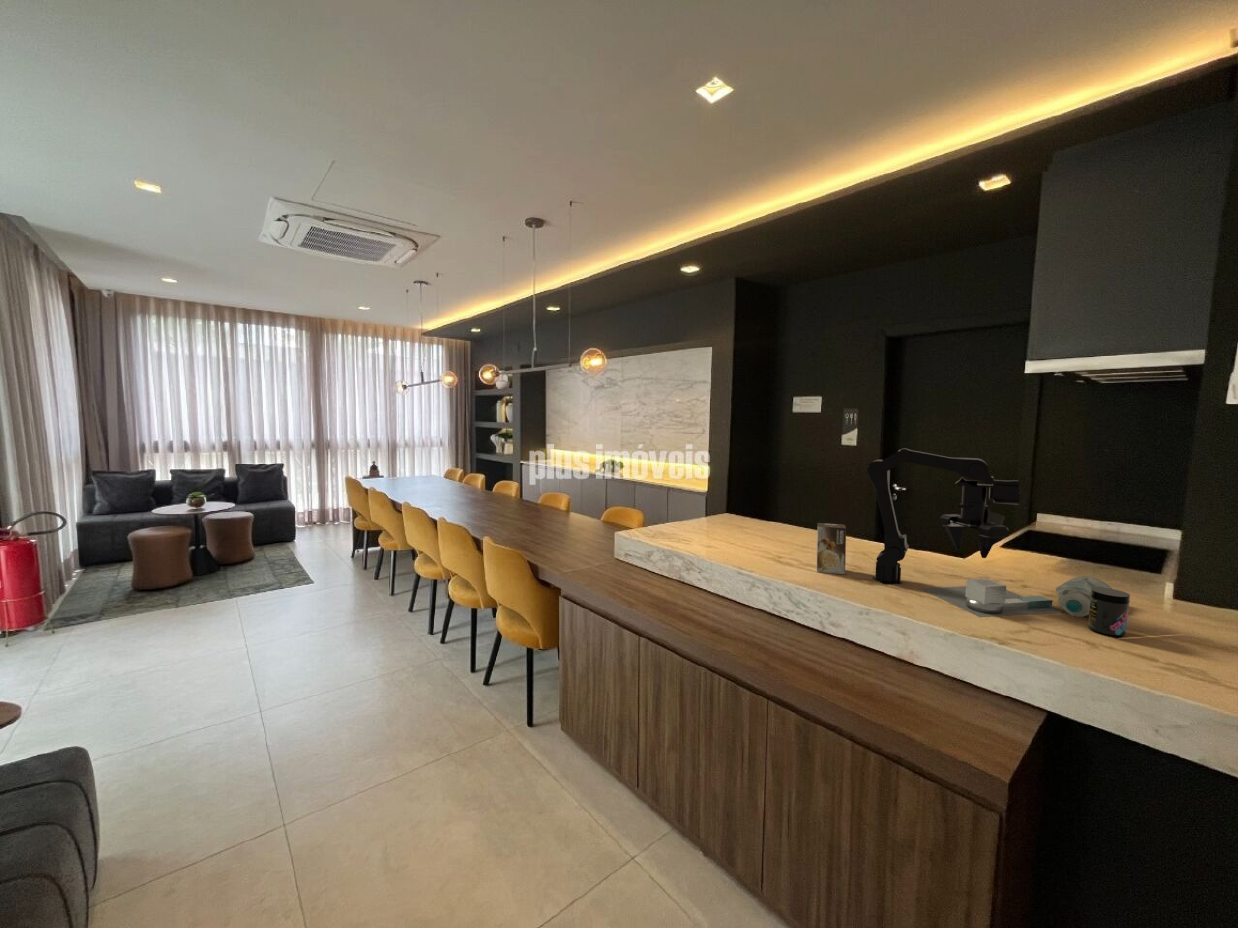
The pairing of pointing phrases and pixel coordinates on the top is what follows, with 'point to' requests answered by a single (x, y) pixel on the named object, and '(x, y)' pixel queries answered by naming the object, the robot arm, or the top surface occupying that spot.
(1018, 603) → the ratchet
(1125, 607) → the supplement container
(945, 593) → the tool mat
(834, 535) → the coffee box
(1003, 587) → the grey block
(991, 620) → the top surface
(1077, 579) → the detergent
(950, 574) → the top surface
